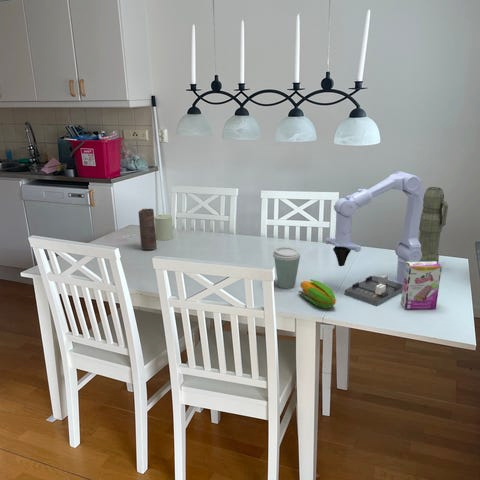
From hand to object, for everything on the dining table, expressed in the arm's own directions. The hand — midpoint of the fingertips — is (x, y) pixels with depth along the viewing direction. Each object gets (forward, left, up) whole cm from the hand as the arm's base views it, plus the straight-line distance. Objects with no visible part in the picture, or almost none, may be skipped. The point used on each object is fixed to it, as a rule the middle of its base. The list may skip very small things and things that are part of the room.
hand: (341, 265), depth 183 cm
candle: (+25, -95, -10) cm, 99 cm away
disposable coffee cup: (+12, -17, -10) cm, 23 cm away
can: (+9, -105, -10) cm, 106 cm away
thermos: (-43, +13, -10) cm, 46 cm away
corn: (+15, 0, -10) cm, 18 cm away
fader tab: (-3, +15, -7) cm, 17 cm away
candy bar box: (-7, +29, -10) cm, 31 cm away
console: (-7, +11, -10) cm, 16 cm away
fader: (-12, +11, -7) cm, 18 cm away
